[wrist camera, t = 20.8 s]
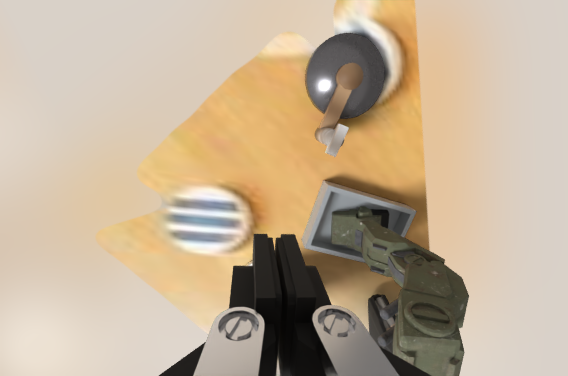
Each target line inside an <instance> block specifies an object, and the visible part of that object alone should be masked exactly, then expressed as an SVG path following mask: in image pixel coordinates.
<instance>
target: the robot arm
mask: <svg viewBox="0 0 568 376" xmlns="http://www.w3.org/2000/svg"><path fill="white" fill-rule="evenodd" d="M159 376H431V375H430V374H428V373H426V372H424V371H422V370H421V369H419V368H417V367H415V366H414V365H412V364H410V363H408V362H407V361H405V360H403V359H401V358H399V357H398V356H396V355H394V354H392V353H391V352H389V351H387V350H385V349H384V348H382V347H380V346H378V345H377V344H376V342H375V341H374V339H373V338H372V337H371V335H370V334H369V332H368V331H367V329H366V328H365V327H364V325H363V324H362V322H361V321H360V320H359V318H358V317H357V316H356V315H355V314H354V313H353V312H351V311H350V310H348V309H346V308H343V307H341V306H335V305H331V302H330V300H329V297H328V295H327V292H326V290H325V287H324V285H323V283H322V280H321V278H320V275H319V273H318V270H317V268H316V266H305V263H304V260H303V257H302V254H301V251H300V248H299V245H298V242H297V239H296V237H295V235H294V234H281V238H276V244H275V250H274V244H273V238H268V236H267V234H254V240H253V260H252V261H251V262H249V263H248V264H247V265H246V266H233V275H232V285H231V295H230V304H229V309H227V310H225V311H223V312H222V313H220V314H219V315H218V316H217V317H216V319H215V320H214V322H213V324H212V327H211V330H210V332H209V335H208V338H207V340H206V342H205V343H204V344H202V345H201V346H199V347H198V348H197V349H195V350H194V351H192V352H191V353H190V354H188V355H187V356H186V357H184V358H183V359H181V360H180V361H178V362H177V363H176V364H174V365H173V366H171V367H170V368H169V369H167V370H166V371H164V372H163V373H162V374H160V375H159Z"/></svg>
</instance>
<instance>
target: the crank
mask: <svg viewBox="0 0 568 376" xmlns="http://www.w3.org/2000/svg"><path fill="white" fill-rule="evenodd" d="M362 80H363V71H362V68H361V67H360V66H359V65H358V64H356V63H348V64H345V65H343V66H341V67H340V68H339V69H338V71H337V73H336V83H337V87H336V89H335V92H334V94H333V96H332V98H331V101H330V103H329V105H328V108H327V110H326V112H325V114H324V117H323V119H322V121H321V124H320V126H319V128H317V129H316V131H315V138H316V140H317V141H319V142H321V143H323V144H325V145H327V149H326V151H325V152H326V153H327V154H330V155H332V156H334V157H336V155H337V153H338V150H339V148H340V147H341V146H342V144H343V142H344V138H345V135H346V133H347V131H348V129H349V128H348V127H346V126H344V125H341V124H337V122H338V120H339V118H340V115H341V113H342V111H343V109H344V106H345V104H346V102H347V100H348V98H349V95H350V93H351V91H352V90H353V89H356V88H357V87H358V86H359V85H360V84H361V83H362ZM336 124H337V127H336V129H335V126H336ZM334 129H335V130H334Z"/></svg>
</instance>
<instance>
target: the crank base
mask: <svg viewBox="0 0 568 376" xmlns="http://www.w3.org/2000/svg"><path fill="white" fill-rule="evenodd" d="M348 63H356V64H358V65H359V66H360V67H361V68H362V71H363V80H362V83H361V84H360V85H359V86H358V87H357V88H356V89H353V90H352V91H351V93H350V95H349V98H348V100H347V102H346V104H345V106H344V109H343V111H342V113H341V115H340V118H339V119H348V118H353V117H356V116H359V115H361V114H363V113H364V112H366V111H367V110H368V109H369V108H370V107H371V106H372V105H373V104H374V103H375V102H376V100H377V99H378V97H379V95H380V93H381V91H382V88H383V84H384V77H385V70H384V63H383V60H382V57H381V55H380V53H379V51H378V49H377V48H376V47H375V45H374V44H373V43H372V42H371V41H369V40H368V39H366V38H365V37H363V36H360V35H357V34H353V33H344V34H339V35H335V36H333V37H331V38H329V39H328V40H326V41H325V42H324V43H322V44H321V45H320V46H319V47H318V48H317V49H316V50H315V51H314V53H313V54H312V56H311V58H310V60H309V62H308V65H307V68H306V74H305V84H306V90H307V93H308V96H309V98H310V100H311V102H312V103H313V105H314V106H315V107H316V108H317V109H318V110H319V111H320V112H322V113H323V114H325V112H326V110H327V108H328V105H329V103H330V101H331V98H332V96H333V94H334V92H335V89H336V87H337V83H336V73H337V71H338V69H339V68H340V67H341V66H343V65H345V64H348Z"/></svg>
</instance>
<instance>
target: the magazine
mask: <svg viewBox="0 0 568 376" xmlns="http://www.w3.org/2000/svg"><path fill="white" fill-rule="evenodd" d="M387 305H389V302H388V300H387V298H386V296H385V295H378V294H377V295H373V296H372V297H371V298H369V300H368V313H369V333H370V335H371V337H372V338H373V339H374V341H375V342H376V344H377V345H378V346H380V347H382V348H384V349H385V350H387V351H389V352H391V353H392V354H393V341H392V342H391V343H389V344H388V345H387V346H385V347H383V346H381V345H380V344H379V343H378V337H379V336H380V335H382V334H383V333H384V332H386V331H387V330H388V329H390V328H391V327H392V326H394V325H395V319H396V315H394V316H392V317H391V318H389V319H388V320H385V319H383V318H382V317H381V316H380V310H381V309H383V308H384V307H386V306H387Z"/></svg>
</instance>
